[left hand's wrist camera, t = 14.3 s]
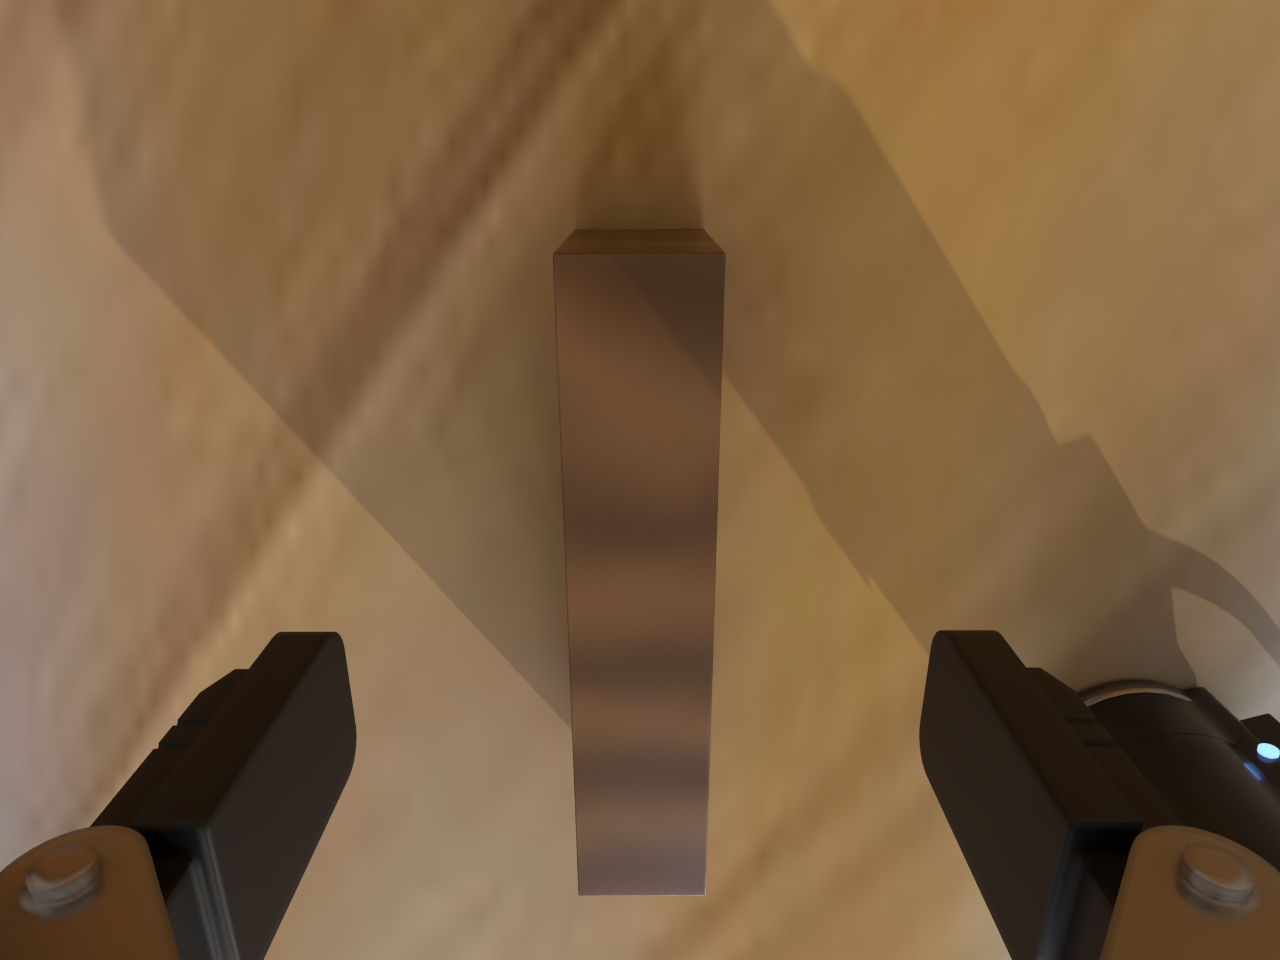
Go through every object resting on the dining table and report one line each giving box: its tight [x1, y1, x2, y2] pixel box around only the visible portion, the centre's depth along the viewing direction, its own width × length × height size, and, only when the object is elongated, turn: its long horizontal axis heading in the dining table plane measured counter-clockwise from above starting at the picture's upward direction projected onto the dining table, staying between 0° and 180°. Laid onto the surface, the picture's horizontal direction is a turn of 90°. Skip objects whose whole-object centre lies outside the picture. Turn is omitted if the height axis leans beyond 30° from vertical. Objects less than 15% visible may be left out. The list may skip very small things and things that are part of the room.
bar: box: [553, 229, 725, 896], centre depth 34 cm, size 25×5×9 cm, turn 0°
